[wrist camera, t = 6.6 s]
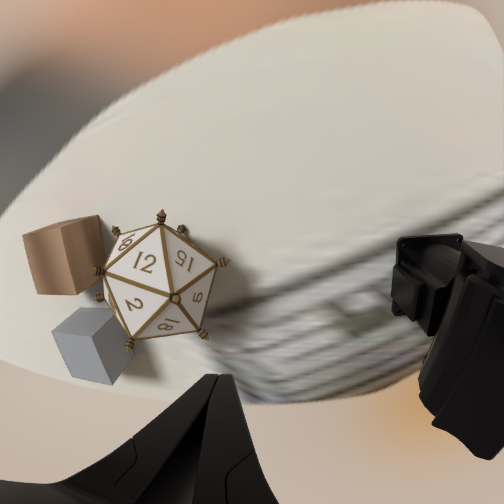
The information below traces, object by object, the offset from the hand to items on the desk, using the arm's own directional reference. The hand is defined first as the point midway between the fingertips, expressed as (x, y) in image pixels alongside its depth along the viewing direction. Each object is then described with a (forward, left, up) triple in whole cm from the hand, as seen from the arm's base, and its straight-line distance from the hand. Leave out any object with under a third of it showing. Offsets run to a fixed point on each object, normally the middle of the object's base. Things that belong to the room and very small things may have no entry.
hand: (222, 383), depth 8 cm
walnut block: (+15, -2, -13) cm, 20 cm away
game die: (+6, 0, -13) cm, 15 cm away
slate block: (+15, +7, -13) cm, 21 cm away
